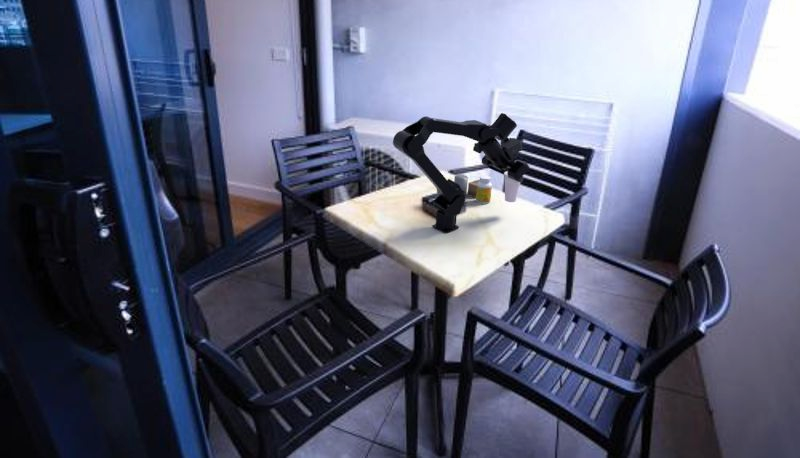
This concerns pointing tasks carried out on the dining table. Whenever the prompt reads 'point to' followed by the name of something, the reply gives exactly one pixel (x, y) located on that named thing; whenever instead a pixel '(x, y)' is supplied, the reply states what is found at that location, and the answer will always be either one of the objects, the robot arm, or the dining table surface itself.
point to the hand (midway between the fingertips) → (515, 178)
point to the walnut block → (472, 188)
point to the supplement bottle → (484, 190)
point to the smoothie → (511, 188)
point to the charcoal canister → (462, 182)
